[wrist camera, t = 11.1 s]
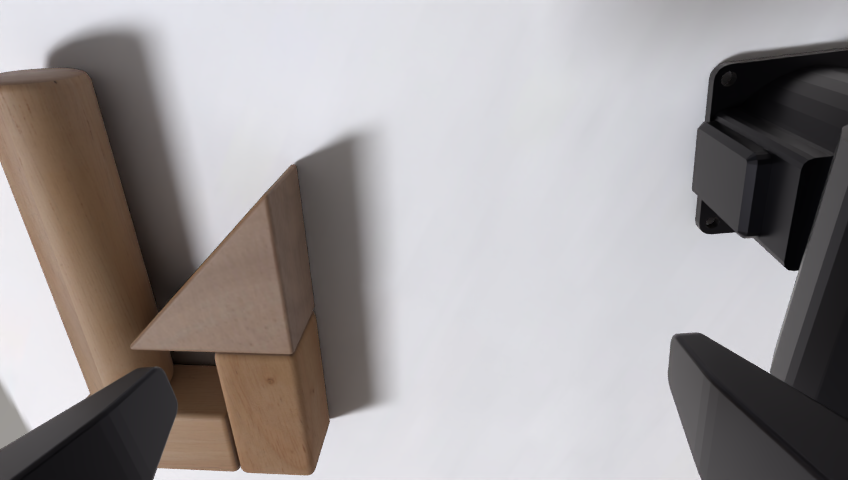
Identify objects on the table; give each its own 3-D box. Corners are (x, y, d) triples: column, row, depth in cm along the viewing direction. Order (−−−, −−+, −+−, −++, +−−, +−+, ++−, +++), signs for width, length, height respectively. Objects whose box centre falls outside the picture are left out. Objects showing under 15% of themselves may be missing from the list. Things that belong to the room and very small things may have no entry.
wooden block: (314, 479, 25) (251, 81, 17) (93, 469, 25) (-68, 83, 17) (332, 420, 28) (286, 64, 20) (136, 413, 29) (16, 67, 21)
